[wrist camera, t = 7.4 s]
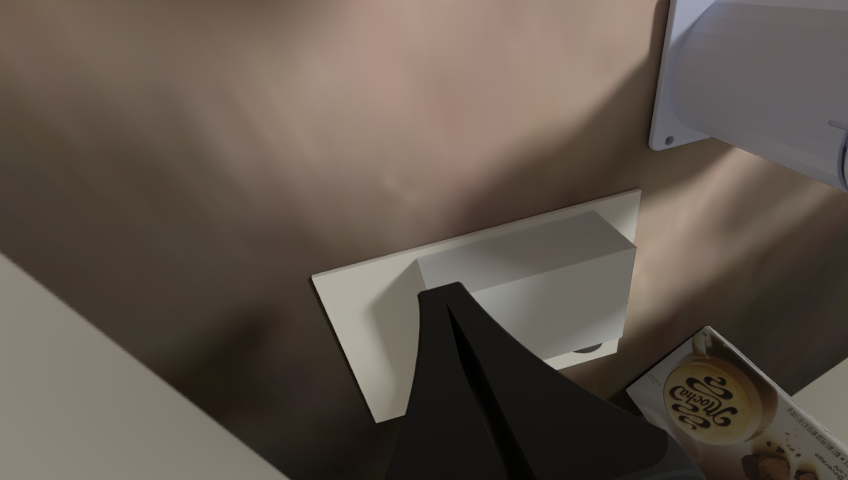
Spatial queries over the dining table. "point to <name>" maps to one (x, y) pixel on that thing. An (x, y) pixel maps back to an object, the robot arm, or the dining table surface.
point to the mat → (399, 308)
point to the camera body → (546, 282)
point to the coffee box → (735, 416)
